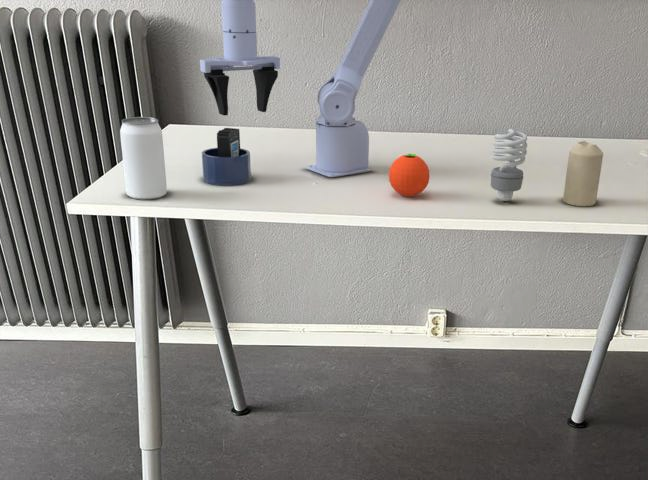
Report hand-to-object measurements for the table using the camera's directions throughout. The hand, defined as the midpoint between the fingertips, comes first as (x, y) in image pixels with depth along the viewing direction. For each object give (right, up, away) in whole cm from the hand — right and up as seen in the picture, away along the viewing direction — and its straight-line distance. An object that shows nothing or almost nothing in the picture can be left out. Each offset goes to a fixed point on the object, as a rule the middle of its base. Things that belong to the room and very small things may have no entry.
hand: (242, 112), depth 149 cm
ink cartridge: (-2, -12, -1) cm, 12 cm away
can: (-14, -17, -12) cm, 25 cm away
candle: (+59, -18, -7) cm, 62 cm away
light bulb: (+46, -18, -9) cm, 50 cm away
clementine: (+29, -16, -7) cm, 34 cm away
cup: (-3, -12, -2) cm, 13 cm away
